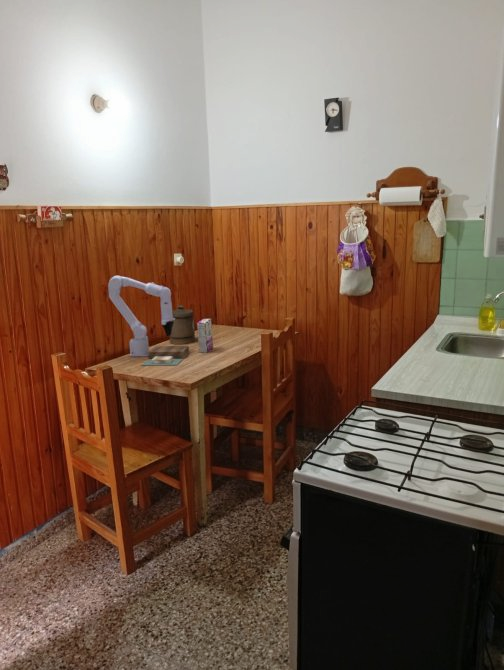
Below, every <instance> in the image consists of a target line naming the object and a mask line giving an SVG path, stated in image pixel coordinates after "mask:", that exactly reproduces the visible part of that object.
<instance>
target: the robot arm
mask: <svg viewBox="0 0 504 670" xmlns="http://www.w3.org/2000/svg"><path fill="white" fill-rule="evenodd" d="M129 286H130V287H133V288H136V289H140V290H143V291H145V293H146V294H148V295H152V296H154V297H159V298H160V314H161V322H160V324H161V326H162V328H163V330H164V332H165V336H166V337H170V335H171V331H172V326H173V323H174V322H173V321H172V322H171V320H175V318H173V315H172V311H173V306H172V305H173V304H172V297H171V295H172V292H171V291H172V290H170V288H169V287H167V286H163V285H158V284H156V283H155V282H153V281H152V282H147V283H145V282H141V281H138V280H136V279H133V278H130V277H126V276H121V275H114V276H112V277H111V278H110V279H109V281H108V286H107V287H108V298H109V299H110V300H111V302H112V303H113V304H114V306H115V308H116V309H117V310H118V312H119V313H120V314H121V315H122V316H123V318H124V319H125V321H126V322H127V324H128V325H129V327H130V330H131V332H132V333H133V336H134V337H133V338H131V339H130V340H129V352H130V356H129V357H149V354H148V352H149V351H150V349H149V348H150V346H149V337H148V336H147V332H148V329H147V326H145V325H144V324H142V322H141V321H139V320H138V318H137V317H136V316H135V314H134V313H133V311H132V310H131V309H130V307H128V305H127V304H126V302H125V301H124V299H123V298H122V297H121V296H120V294H121V289H122V287H123V288H124V287H129Z"/></svg>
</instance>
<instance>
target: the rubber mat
mask: <svg viewBox="0 0 504 670" xmlns="http://www.w3.org/2000/svg"><path fill="white" fill-rule="evenodd" d="M183 360H184V359H173V361H172V362H171V363H164V364H152V359H149V358H148V359H147V360H146V361H144V362H143V363H142V364H141V366H142V367H149V366H150V367H151V366H153V367H155V366H156V367H157V366H158V367H159V366H160V367H162V366H164V367H165V366H166V367H167V366H168V367H169V366H170V367H171V366H174V367H175V366H178V365H179V364H180V363H181V362H182V361H183Z"/></svg>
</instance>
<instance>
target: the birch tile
mask: <svg viewBox="0 0 504 670" xmlns="http://www.w3.org/2000/svg"><path fill="white" fill-rule="evenodd" d="M172 361H173V356H159V357H154V358H153V359H152V364H164V363H171V362H172Z"/></svg>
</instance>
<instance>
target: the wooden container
mask: <svg viewBox="0 0 504 670" xmlns="http://www.w3.org/2000/svg"><path fill="white" fill-rule="evenodd" d="M176 308H177V309H175V310H173V309H172V315H173V318H175V320H171V322H172V321H173V322H174V323H173V326H172V331H171V335H170V336H169V343H170V344H172V345H188V344H192V343H194V342H195V341H196V335H195V334H196V332H195V330H196V329H195V321H194V310H192V309H187V308H186V309H185V308H184V305H182V304H178V305H177V306H176Z"/></svg>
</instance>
